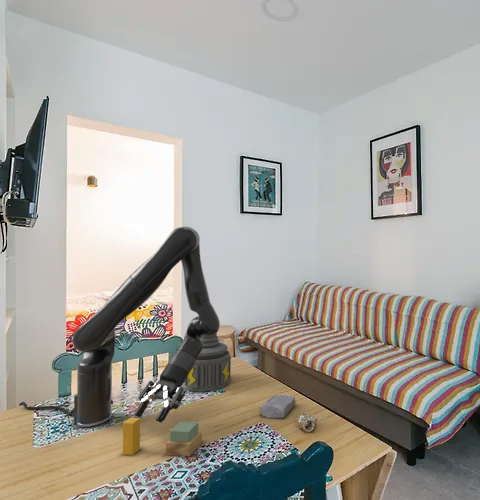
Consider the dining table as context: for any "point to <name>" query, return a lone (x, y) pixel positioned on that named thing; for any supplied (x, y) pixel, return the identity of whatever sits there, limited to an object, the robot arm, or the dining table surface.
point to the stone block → (277, 406)
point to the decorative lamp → (210, 366)
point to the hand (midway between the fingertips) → (147, 418)
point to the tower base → (184, 446)
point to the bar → (131, 436)
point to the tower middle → (184, 431)
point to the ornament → (306, 422)
